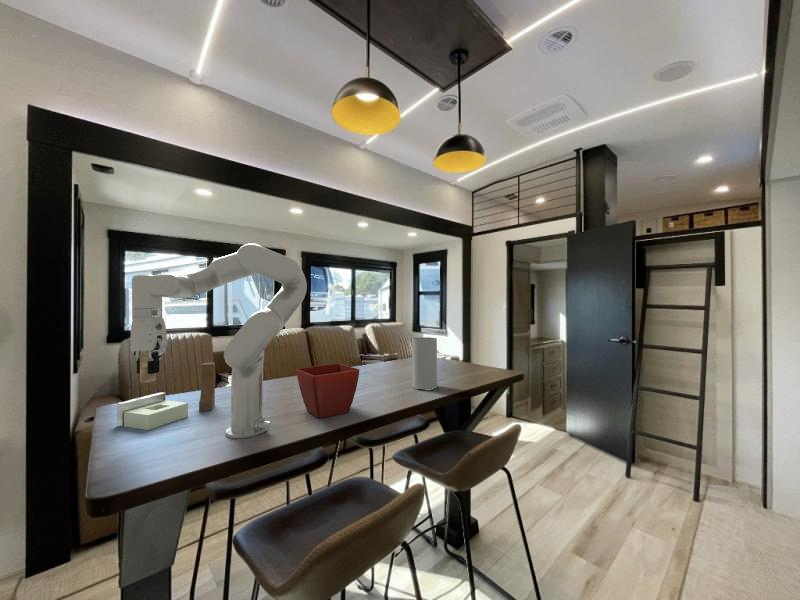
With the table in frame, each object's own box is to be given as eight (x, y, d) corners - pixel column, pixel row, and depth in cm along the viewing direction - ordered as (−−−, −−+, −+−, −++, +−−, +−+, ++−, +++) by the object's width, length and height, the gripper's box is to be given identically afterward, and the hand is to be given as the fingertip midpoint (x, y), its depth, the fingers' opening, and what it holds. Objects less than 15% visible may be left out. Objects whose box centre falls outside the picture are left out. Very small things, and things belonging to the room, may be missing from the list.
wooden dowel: (159, 380, 103) (158, 348, 103) (146, 383, 99) (145, 350, 99) (150, 379, 104) (149, 348, 104) (136, 382, 100) (136, 350, 100)
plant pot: (295, 410, 130) (295, 368, 130) (338, 401, 141) (338, 362, 141) (313, 423, 114) (313, 375, 115) (360, 413, 126) (360, 369, 126)
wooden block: (211, 411, 129) (212, 365, 129) (198, 412, 127) (199, 366, 127) (214, 405, 137) (215, 362, 137) (202, 406, 135) (202, 363, 136)
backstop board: (165, 413, 126) (165, 392, 126) (122, 427, 112) (122, 403, 112) (160, 413, 127) (160, 392, 127) (117, 426, 113) (117, 403, 113)
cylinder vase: (438, 390, 159) (438, 339, 159) (413, 390, 159) (412, 339, 159) (435, 384, 171) (435, 337, 172) (411, 384, 171) (411, 337, 172)
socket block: (188, 416, 122) (188, 402, 122) (147, 430, 108) (148, 415, 109) (165, 413, 126) (165, 400, 126) (124, 426, 112) (124, 411, 112)
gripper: (178, 313, 103) (179, 371, 102) (141, 314, 108) (141, 369, 107) (154, 314, 96) (155, 376, 95) (115, 315, 101) (116, 374, 100)
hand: (148, 372), depth 101 cm, fingers closed on wooden dowel, 4 cm apart
